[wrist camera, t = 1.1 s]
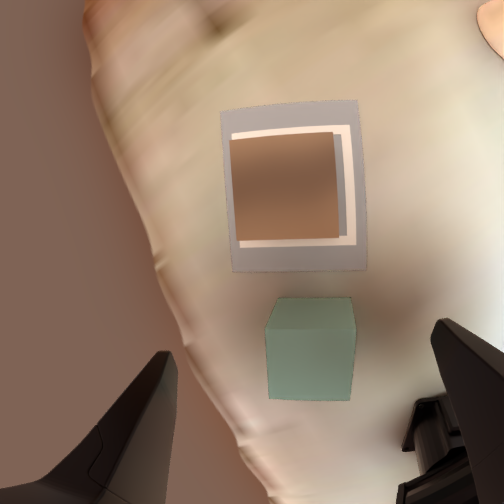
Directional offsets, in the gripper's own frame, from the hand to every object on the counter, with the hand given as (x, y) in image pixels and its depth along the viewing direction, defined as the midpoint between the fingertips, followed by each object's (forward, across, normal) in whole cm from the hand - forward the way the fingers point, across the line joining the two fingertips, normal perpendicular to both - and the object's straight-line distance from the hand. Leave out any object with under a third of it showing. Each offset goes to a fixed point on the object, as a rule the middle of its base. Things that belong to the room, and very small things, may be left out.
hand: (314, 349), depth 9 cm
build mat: (+12, -1, -1) cm, 13 cm away
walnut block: (+12, -1, -1) cm, 12 cm away
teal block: (+9, -2, +8) cm, 13 cm away
